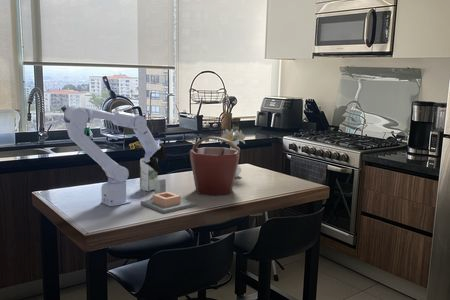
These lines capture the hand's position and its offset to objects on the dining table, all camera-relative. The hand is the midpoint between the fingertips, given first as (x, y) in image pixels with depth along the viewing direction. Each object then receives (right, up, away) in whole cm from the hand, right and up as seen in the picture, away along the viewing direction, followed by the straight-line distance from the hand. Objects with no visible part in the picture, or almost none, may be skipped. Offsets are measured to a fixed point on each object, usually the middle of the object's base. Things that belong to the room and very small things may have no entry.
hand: (161, 166), depth 194 cm
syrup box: (-8, -11, +12) cm, 18 cm away
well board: (+4, -15, -13) cm, 20 cm away
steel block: (-1, -13, +1) cm, 13 cm away
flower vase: (+31, -7, +44) cm, 54 cm away
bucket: (+22, -12, +11) cm, 28 cm away
